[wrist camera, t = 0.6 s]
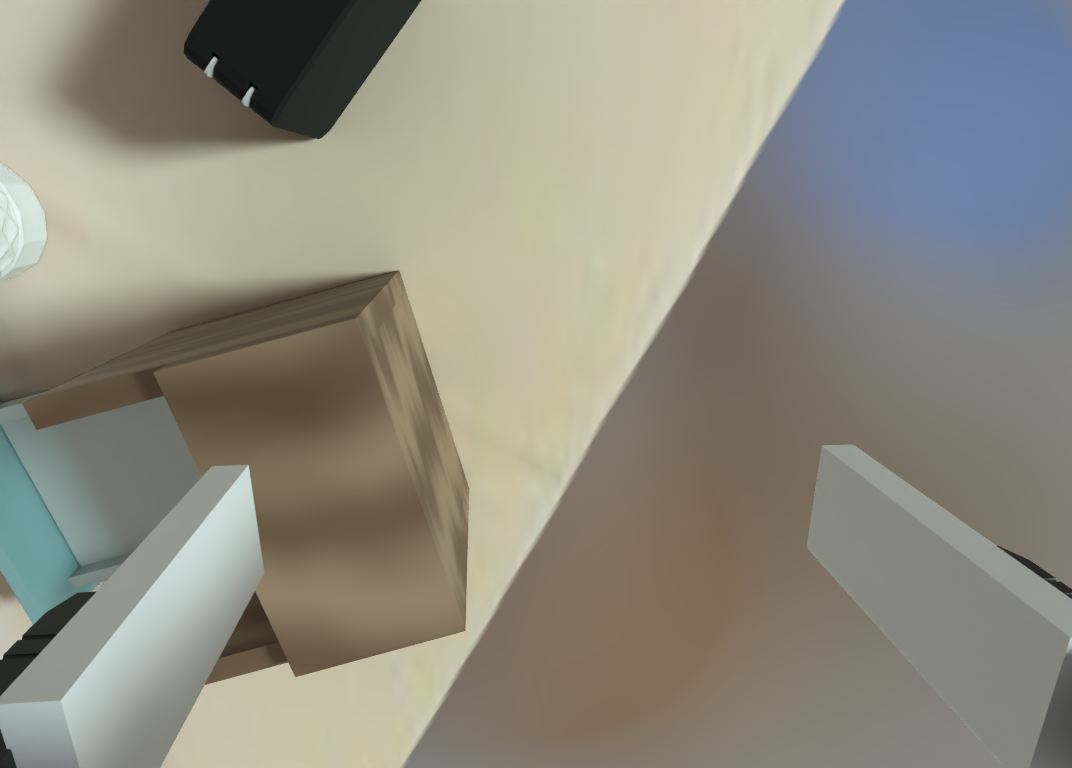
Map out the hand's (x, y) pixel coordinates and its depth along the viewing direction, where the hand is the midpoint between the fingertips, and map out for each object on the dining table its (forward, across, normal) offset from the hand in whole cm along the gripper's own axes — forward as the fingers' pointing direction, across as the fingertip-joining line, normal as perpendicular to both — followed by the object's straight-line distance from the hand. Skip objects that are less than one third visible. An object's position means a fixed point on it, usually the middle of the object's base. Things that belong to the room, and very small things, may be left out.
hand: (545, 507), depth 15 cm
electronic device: (+26, -8, +14) cm, 31 cm away
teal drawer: (+26, -23, -10) cm, 36 cm away
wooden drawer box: (+26, -11, -7) cm, 29 cm away
